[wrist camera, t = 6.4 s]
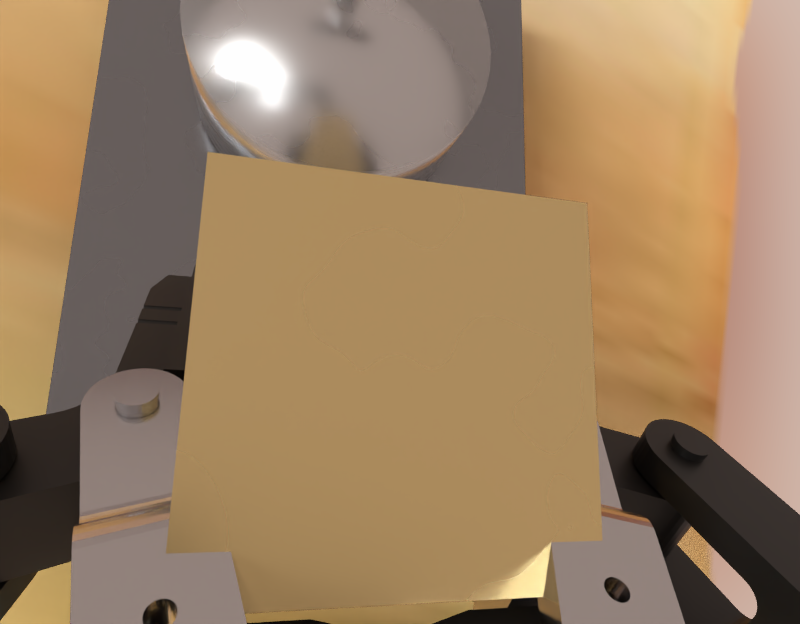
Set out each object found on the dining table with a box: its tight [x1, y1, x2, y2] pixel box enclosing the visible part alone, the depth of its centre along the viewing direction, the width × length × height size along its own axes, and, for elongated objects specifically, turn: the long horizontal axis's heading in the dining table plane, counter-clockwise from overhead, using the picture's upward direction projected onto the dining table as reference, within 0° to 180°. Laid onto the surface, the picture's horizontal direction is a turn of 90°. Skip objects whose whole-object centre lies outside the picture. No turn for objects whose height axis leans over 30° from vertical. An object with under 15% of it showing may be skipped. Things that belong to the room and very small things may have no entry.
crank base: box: [46, 0, 525, 414], centre depth 13 cm, size 13×18×10 cm
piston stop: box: [166, 152, 602, 613], centre depth 10 cm, size 4×4×10 cm
